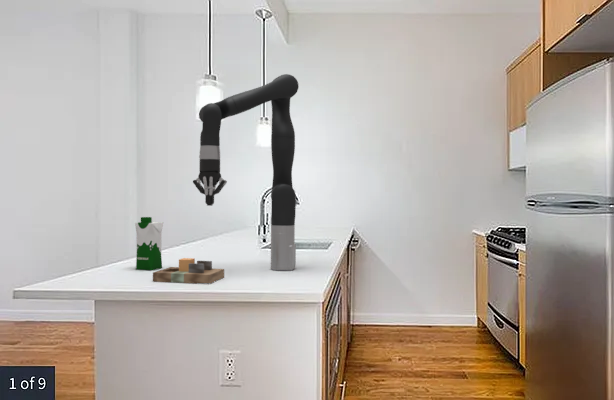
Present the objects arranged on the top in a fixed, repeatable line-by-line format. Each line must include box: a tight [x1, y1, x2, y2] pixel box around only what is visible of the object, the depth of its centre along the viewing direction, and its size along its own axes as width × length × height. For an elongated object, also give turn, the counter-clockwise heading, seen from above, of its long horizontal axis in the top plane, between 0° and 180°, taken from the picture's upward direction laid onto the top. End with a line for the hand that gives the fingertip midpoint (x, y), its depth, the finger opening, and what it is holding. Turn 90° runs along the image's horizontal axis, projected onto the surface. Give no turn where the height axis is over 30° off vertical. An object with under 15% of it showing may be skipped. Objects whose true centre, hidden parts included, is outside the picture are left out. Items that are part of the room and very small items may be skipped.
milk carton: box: [134, 216, 164, 271], centre depth 215 cm, size 9×9×20 cm
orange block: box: [178, 257, 196, 272], centre depth 191 cm, size 4×4×4 cm
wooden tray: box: [152, 260, 225, 284], centre depth 191 cm, size 20×14×6 cm
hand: (209, 205), depth 206 cm, fingers closed
